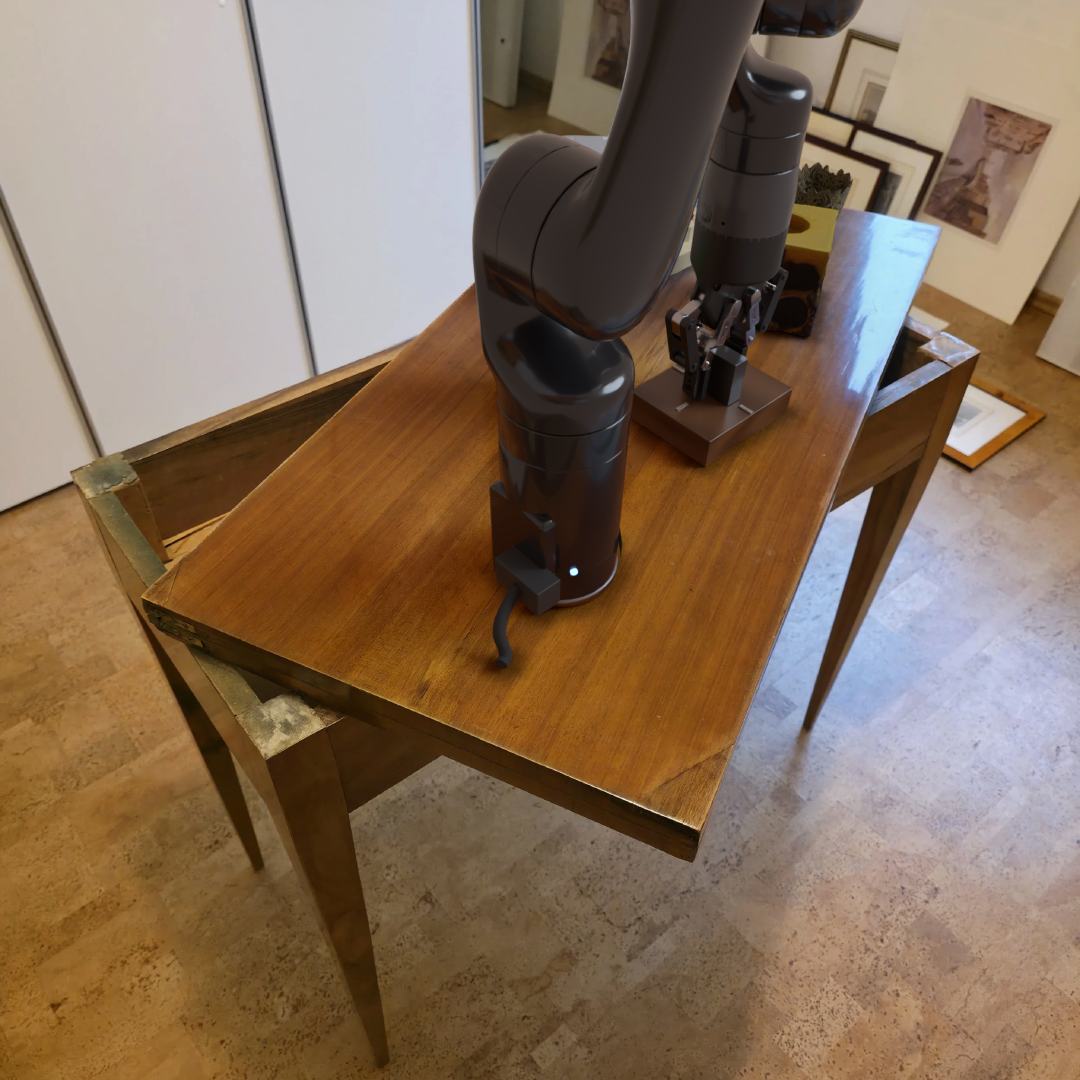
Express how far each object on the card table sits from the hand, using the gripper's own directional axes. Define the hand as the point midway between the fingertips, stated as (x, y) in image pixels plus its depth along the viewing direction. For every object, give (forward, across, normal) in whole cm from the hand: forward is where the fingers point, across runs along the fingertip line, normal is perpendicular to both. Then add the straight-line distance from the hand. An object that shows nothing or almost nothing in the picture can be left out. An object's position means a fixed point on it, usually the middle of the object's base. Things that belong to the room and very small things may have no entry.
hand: (712, 384), depth 83 cm
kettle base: (+4, +22, +25) cm, 33 cm away
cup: (+4, +36, +16) cm, 39 cm away
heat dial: (0, 0, 0) cm, 0 cm away
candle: (+4, +20, +8) cm, 22 cm away
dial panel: (+4, 0, 0) cm, 4 cm away
